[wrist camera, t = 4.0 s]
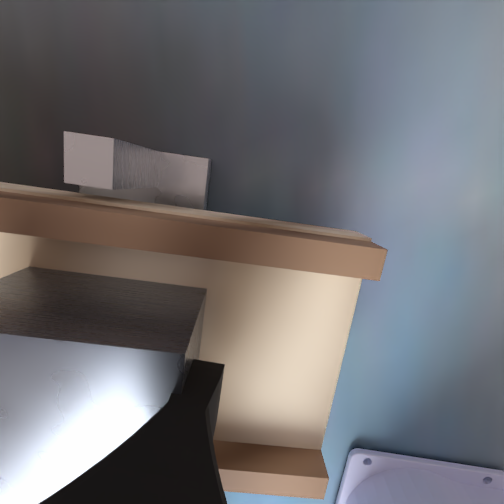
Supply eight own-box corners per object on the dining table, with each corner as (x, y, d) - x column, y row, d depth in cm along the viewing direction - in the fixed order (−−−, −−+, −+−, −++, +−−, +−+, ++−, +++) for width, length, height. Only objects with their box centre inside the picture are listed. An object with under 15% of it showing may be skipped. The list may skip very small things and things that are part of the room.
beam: (355, 231, 12) (388, 246, 9) (308, 440, 14) (323, 501, 11) (-231, 150, 10) (-392, 140, 8) (-175, 394, 13) (-284, 451, 10)
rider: (207, 288, 10) (184, 354, 7) (193, 408, 12) (167, 524, 8) (29, 266, 10) (-106, 321, 6) (33, 392, 11) (-78, 506, 7)
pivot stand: (211, 159, 14) (182, 148, 9) (185, 403, 18) (154, 492, 13) (89, 142, 14) (-5, 121, 9) (86, 388, 18) (15, 471, 13)
